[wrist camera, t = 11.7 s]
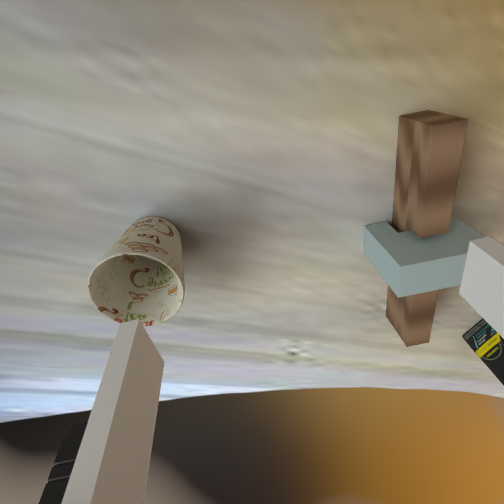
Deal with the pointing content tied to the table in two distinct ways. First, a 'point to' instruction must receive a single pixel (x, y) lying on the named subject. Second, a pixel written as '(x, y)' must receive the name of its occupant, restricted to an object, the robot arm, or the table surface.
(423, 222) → the walnut rail
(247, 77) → the table surface
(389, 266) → the blue-grey notched block
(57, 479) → the robot arm
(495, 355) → the tampon box
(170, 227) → the mug
